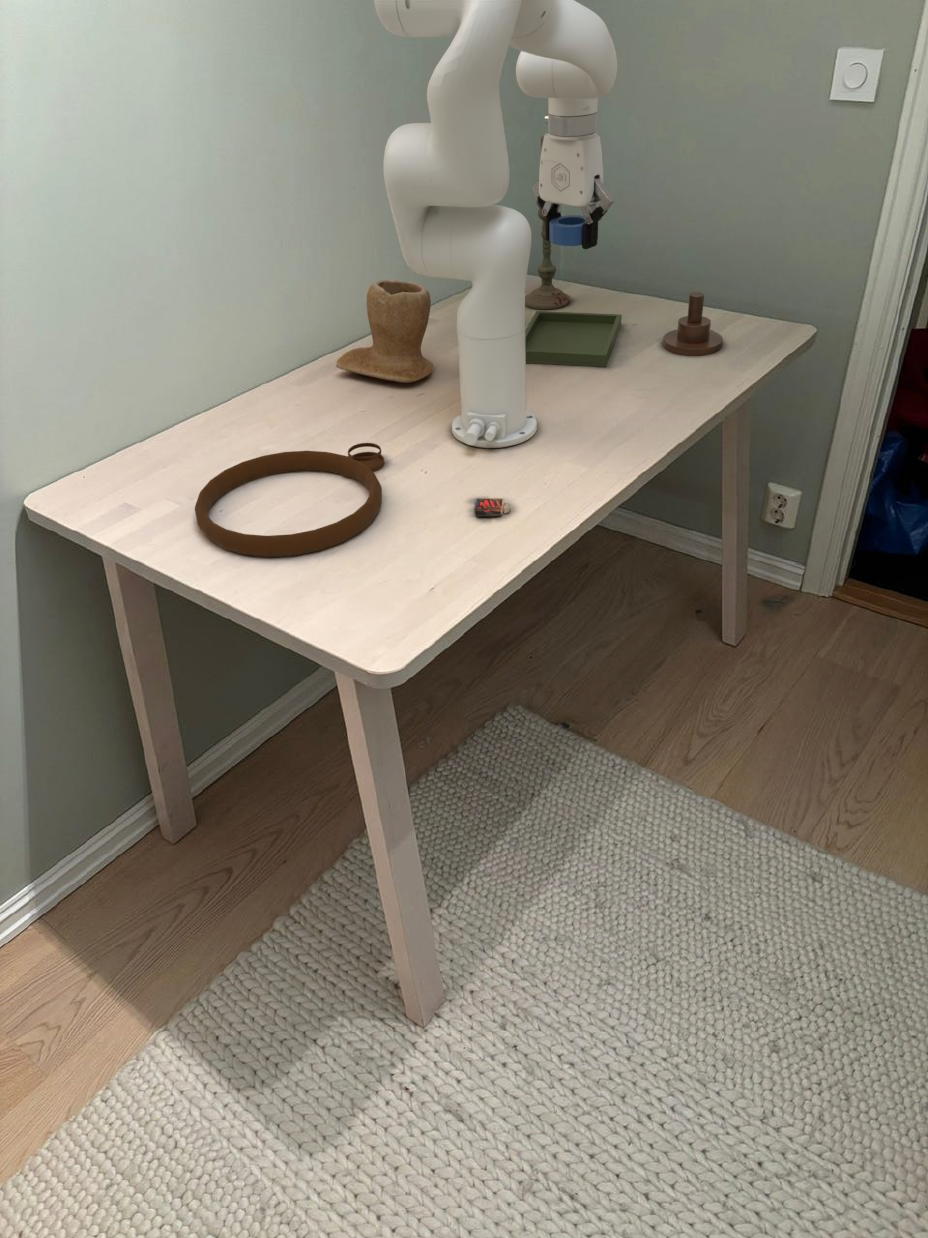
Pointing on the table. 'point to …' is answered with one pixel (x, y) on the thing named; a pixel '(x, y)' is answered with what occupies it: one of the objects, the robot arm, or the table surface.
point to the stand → (693, 332)
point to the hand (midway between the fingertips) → (571, 242)
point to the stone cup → (393, 333)
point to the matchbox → (490, 506)
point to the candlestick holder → (546, 277)
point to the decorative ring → (348, 466)
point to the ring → (567, 230)
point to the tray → (571, 338)
